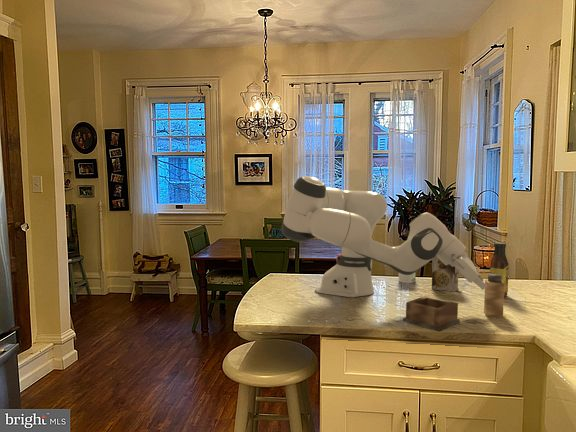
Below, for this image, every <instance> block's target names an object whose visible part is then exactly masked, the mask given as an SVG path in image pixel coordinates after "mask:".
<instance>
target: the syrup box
mask: <svg viewBox="0 0 576 432" xmlns="http://www.w3.org/2000/svg"><path fill="white" fill-rule="evenodd" d="M416 272H417V271H416ZM416 272H415V273H413V274H411V275H404V274H401V273H399V272H398V282H399V283H404V284H413V283H414V282H416V277H417V276H416V275H417V274H416Z"/></svg>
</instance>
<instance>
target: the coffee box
mask: <svg viewBox="0 0 576 432" xmlns="http://www.w3.org/2000/svg"><path fill="white" fill-rule="evenodd" d="M431 261H432V262H431V263H432V264H431V269H432V270H431V289H432V290H440V291H447V292H456V291H457V290H458V289H459V271H458V270H457V269H456V268H455V266H453V267H452V266H451V265H450V264H448V265H444V263H443V262H442V261H441V260H440V259H439V258H438V257H437V256H435V257H434V258H433V259H432V260H431Z"/></svg>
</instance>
